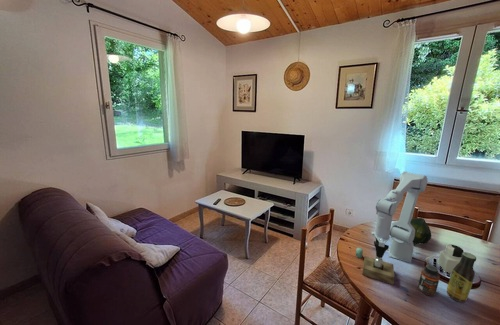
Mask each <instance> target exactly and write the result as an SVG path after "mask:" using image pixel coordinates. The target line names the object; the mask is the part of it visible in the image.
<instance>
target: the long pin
mask: <svg viewBox="0 0 500 325" xmlns="http://www.w3.org/2000/svg"><path fill="white" fill-rule="evenodd" d="M374 259H375V263H374V268H377V269H381V268H382V262H383V261H384V260H383V258H379V257H377V256H375V258H374Z"/></svg>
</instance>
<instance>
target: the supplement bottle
mask: <svg viewBox="0 0 500 325" xmlns="http://www.w3.org/2000/svg"><path fill="white" fill-rule="evenodd" d="M439 282H440V274H439V269H438V268H437V267H436V266H435V265H433V264H426V265H425V267H424V268H422V270H421V271H420V276H419V280H418V285H417V288H418V290H419V291H420V292H421V293H422V294H425V295H427V296H430V297H432V296H433V297H434V296H435V295H436V294H437V290H438V286H439Z"/></svg>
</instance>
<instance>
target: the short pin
mask: <svg viewBox="0 0 500 325" xmlns="http://www.w3.org/2000/svg"><path fill="white" fill-rule="evenodd" d="M355 252H356V253H355V257H357V258H358V259H362V257H363V255H364V254H363V252H364V249H363V248H362V247H356V250H355Z"/></svg>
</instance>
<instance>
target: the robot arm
mask: <svg viewBox="0 0 500 325" xmlns="http://www.w3.org/2000/svg"><path fill="white" fill-rule="evenodd" d="M427 185H428V177H427V175H422V174H417V173H414V172H413V173H411V172H409V171H403V172H402V173H401V174H400V176H399V183H398V185H397V186H396V188H395V189H391V190H390V191H389V192H388V193H387V194H386V195H385V196H384V198H382V199H378V200H377V202H376V205H375V209H376V210H375V211H376V221H375V222H376V223H375V227H374V228H375V229H374V231H371V235H373V236H375V240H374V241H373V245H374V248H375V257H379V258H381V259H383V257H384V255H385V252H386V251H387V250H388V257H390V258H392V259H397V260H400V261H403V262H407V263H412V258H413V254H414V246H415V244H414V243H413V240H414V237H415V229H414V227H413V226H412V225H411V224H410V222H411V219H413V215H414V212H415V208H416V206H417V203H418V199H419V195H420V193H425V190H426V188H427ZM404 194H406V196H404ZM404 197H405V198H404ZM403 199H404V202H403V206H402V208H401V212H400V216H399V219H398V220H395V221H393V217H394V215H395V214H396V212H397V209H398V207H399V205H400V203H401V202H402V201H403ZM392 221H393V222H392ZM401 227H402V228H401ZM404 228H405V229H404ZM390 239H391V243H390V246H389V245H388V244H386V243H388V241H389V240H390Z"/></svg>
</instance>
